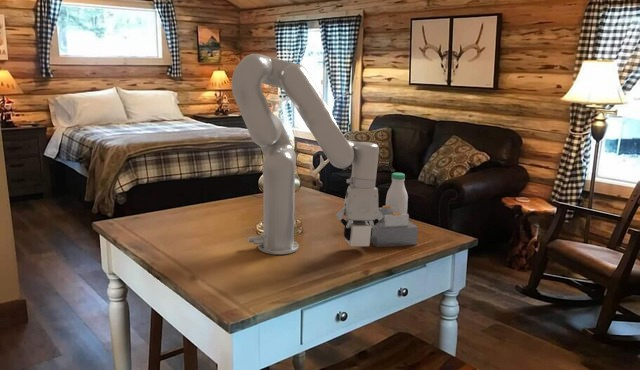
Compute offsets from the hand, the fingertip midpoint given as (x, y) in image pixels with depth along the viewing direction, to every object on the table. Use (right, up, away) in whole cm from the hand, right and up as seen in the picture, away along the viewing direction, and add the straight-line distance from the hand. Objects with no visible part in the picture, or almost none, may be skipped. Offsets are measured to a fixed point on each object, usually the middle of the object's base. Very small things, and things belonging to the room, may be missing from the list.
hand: (357, 238), depth 172 cm
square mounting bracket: (+12, -2, +12) cm, 17 cm away
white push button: (0, -1, 0) cm, 1 cm away
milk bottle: (+15, +1, +25) cm, 29 cm away
